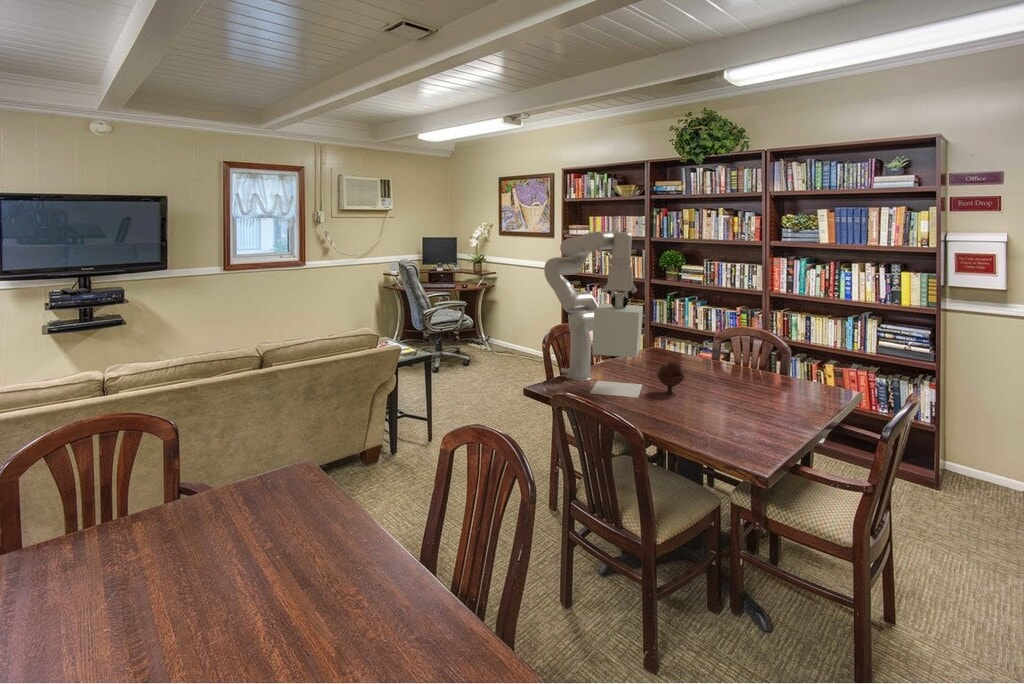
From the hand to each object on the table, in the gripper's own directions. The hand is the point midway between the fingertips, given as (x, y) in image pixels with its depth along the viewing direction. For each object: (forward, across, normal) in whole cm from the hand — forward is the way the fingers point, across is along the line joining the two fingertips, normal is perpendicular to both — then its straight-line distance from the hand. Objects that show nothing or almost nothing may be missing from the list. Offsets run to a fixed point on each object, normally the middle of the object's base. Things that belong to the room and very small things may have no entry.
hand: (619, 306), depth 238 cm
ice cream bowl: (+37, +23, -1) cm, 43 cm away
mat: (+37, +1, -1) cm, 37 cm away
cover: (+19, 0, 0) cm, 19 cm away
